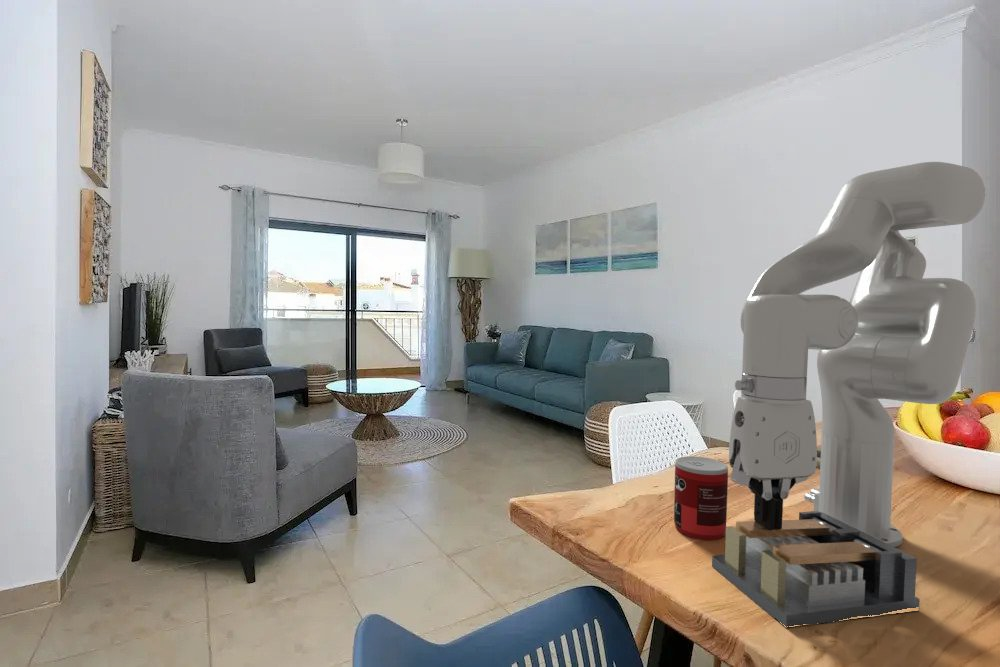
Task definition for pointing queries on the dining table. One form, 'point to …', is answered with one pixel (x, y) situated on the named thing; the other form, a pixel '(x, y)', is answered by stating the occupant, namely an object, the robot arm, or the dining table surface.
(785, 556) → the near strap
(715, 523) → the canned food
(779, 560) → the heatsink block
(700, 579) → the dining table surface
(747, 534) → the strap
